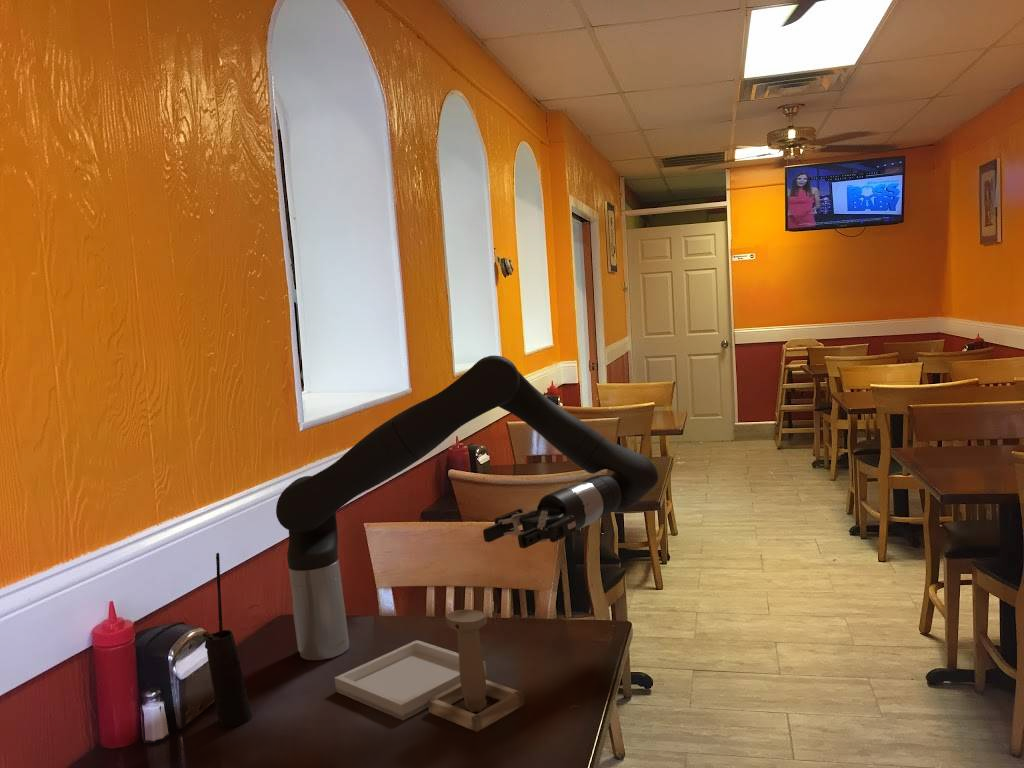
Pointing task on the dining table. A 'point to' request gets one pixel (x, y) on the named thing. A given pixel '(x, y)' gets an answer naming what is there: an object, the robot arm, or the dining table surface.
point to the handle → (470, 656)
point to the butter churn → (226, 672)
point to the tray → (402, 679)
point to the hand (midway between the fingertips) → (502, 539)
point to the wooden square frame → (477, 722)
